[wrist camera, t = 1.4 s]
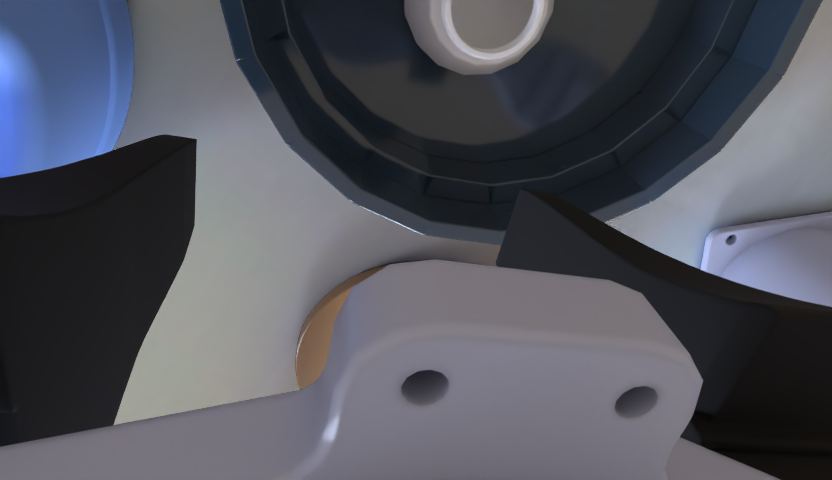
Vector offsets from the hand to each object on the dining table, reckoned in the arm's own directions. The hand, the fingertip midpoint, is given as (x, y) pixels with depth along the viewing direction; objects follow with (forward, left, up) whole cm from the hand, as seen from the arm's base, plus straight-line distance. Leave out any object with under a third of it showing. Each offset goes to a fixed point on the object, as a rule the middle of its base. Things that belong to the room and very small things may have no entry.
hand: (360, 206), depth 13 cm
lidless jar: (-5, -3, -9) cm, 11 cm away
